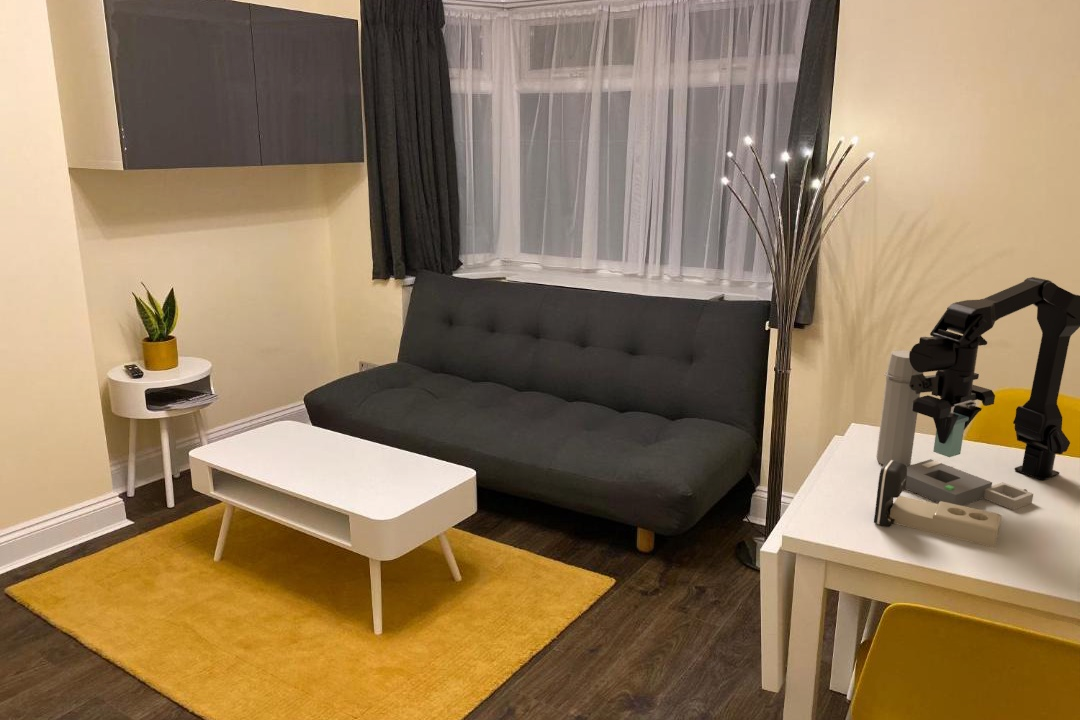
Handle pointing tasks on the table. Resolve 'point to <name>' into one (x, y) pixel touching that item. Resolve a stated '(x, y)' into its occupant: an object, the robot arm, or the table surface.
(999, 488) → the beige frame with handle
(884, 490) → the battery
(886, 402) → the water bottle
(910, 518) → the electrical outlet
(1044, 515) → the table surface
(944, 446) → the plug
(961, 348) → the robot arm
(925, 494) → the port panel
